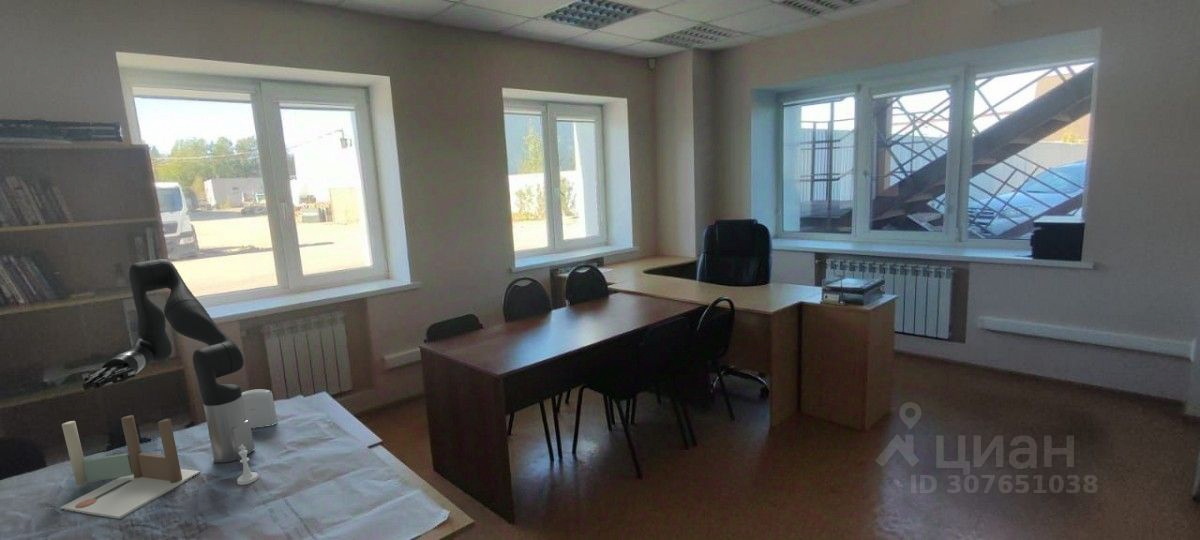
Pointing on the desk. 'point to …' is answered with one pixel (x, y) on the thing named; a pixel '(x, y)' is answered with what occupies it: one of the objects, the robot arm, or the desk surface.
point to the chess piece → (246, 469)
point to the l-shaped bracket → (93, 460)
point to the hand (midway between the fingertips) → (90, 386)
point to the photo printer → (259, 407)
